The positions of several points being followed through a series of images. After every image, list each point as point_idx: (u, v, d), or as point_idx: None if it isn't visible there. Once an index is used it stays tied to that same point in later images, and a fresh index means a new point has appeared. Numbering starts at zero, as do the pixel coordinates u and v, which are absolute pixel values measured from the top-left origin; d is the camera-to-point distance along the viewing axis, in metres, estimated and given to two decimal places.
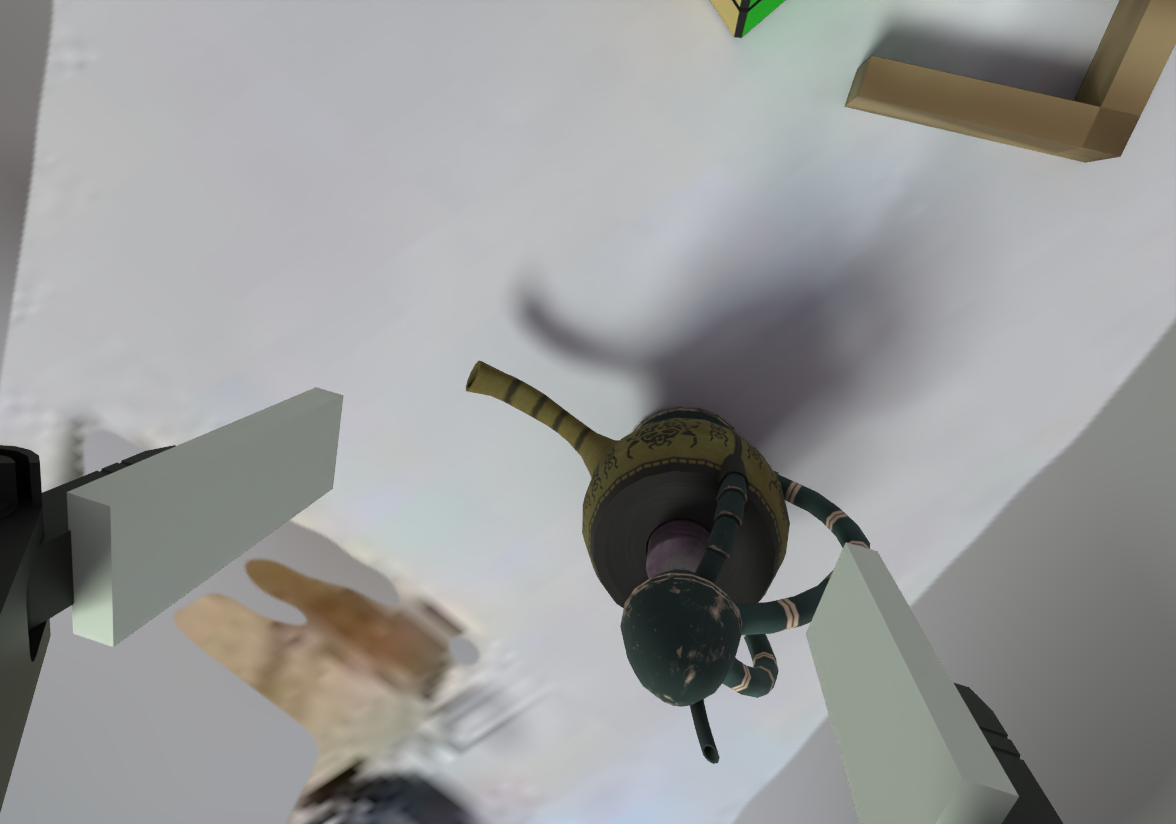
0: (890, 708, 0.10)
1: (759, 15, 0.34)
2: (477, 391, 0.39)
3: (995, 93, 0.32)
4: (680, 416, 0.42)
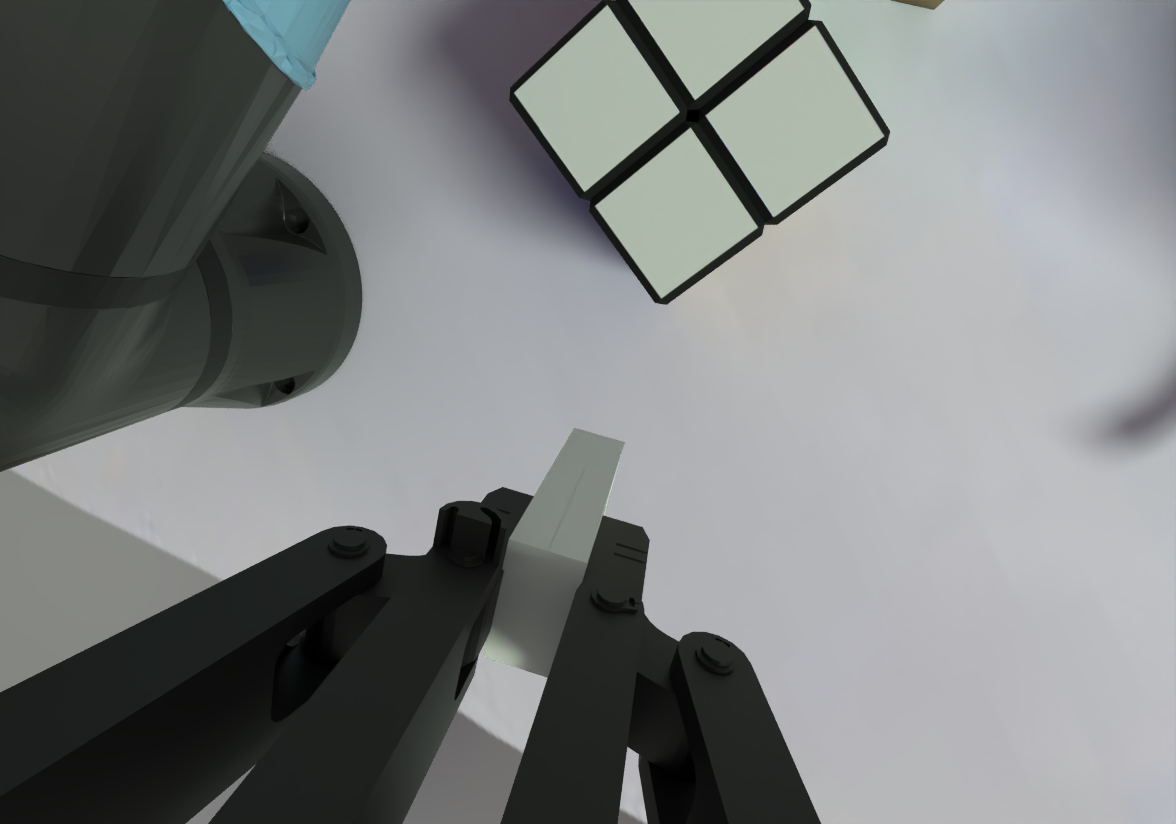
0: None
1: None
2: None
3: None
4: None
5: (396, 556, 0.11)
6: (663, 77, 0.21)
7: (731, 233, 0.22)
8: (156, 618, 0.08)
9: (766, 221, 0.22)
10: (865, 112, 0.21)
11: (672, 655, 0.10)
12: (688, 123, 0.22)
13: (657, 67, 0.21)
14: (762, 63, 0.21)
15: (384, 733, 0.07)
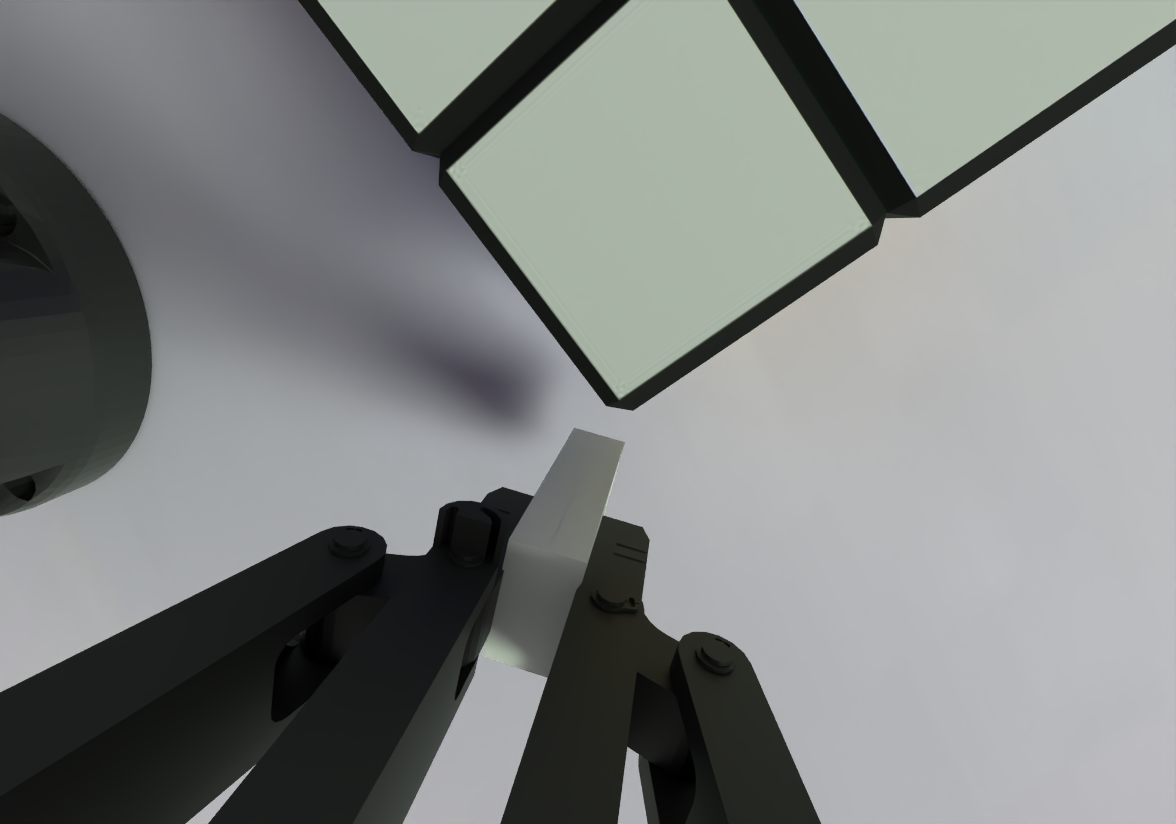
0: None
1: None
2: None
3: None
4: None
5: (396, 556, 0.11)
6: None
7: (798, 240, 0.08)
8: (156, 618, 0.08)
9: (892, 209, 0.08)
10: None
11: (672, 655, 0.10)
12: None
13: None
14: None
15: (385, 733, 0.07)
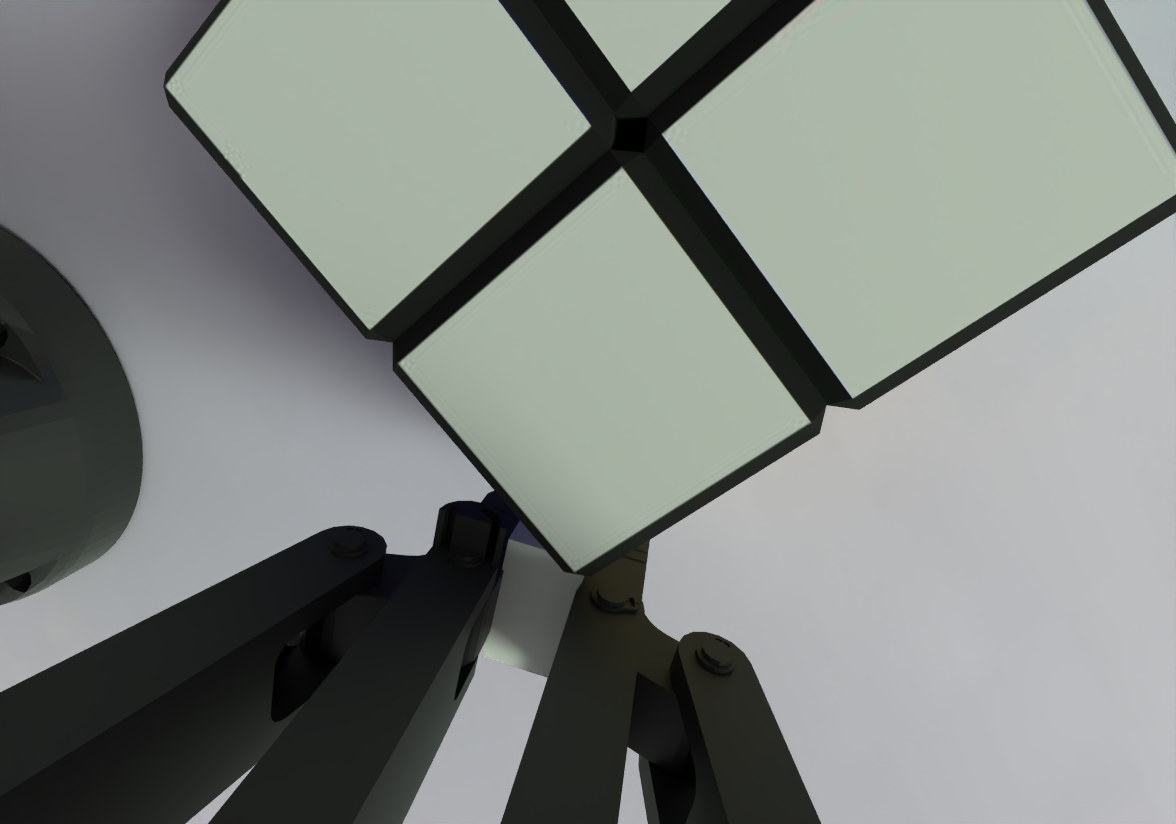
0: None
1: None
2: None
3: None
4: None
5: (396, 556, 0.11)
6: (542, 31, 0.08)
7: (741, 434, 0.09)
8: (156, 618, 0.08)
9: (831, 402, 0.09)
10: (1138, 114, 0.07)
11: (672, 655, 0.10)
12: (616, 158, 0.08)
13: (524, 3, 0.08)
14: None
15: (384, 732, 0.07)
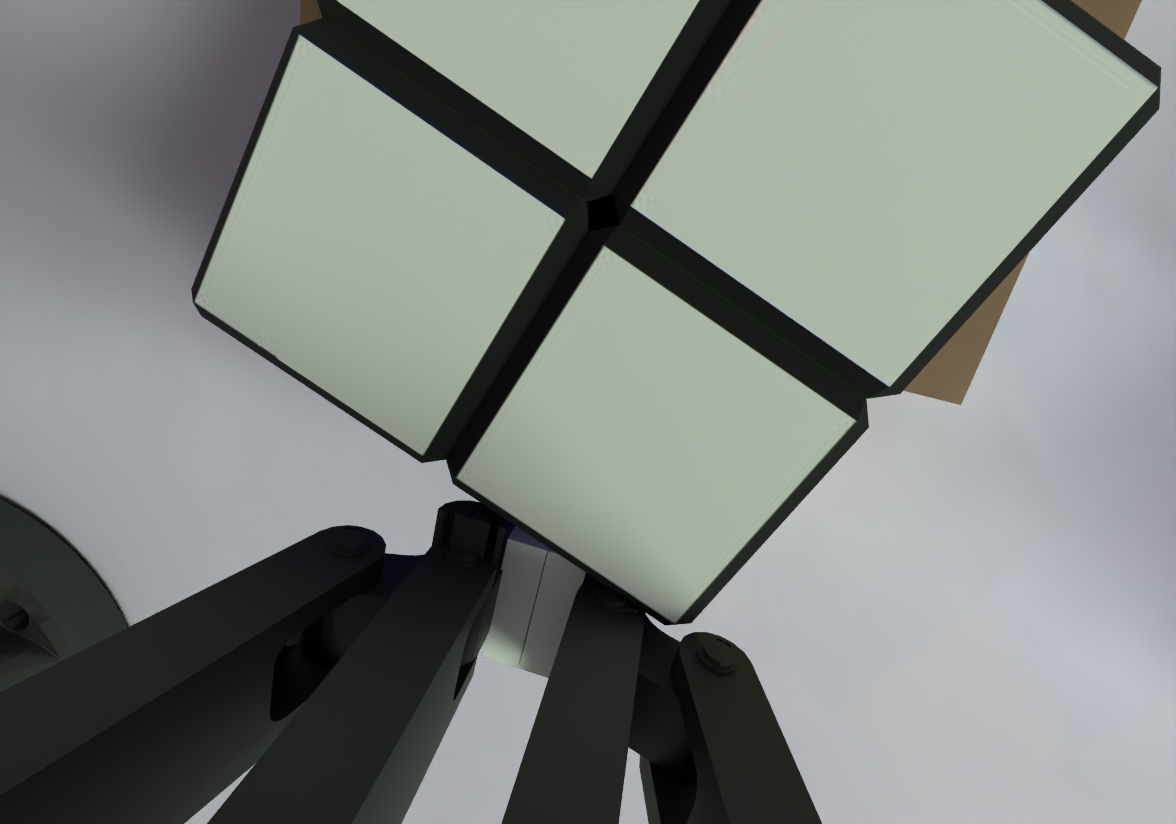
0: None
1: None
2: None
3: None
4: None
5: (395, 555, 0.11)
6: (497, 152, 0.08)
7: (791, 451, 0.09)
8: (155, 618, 0.08)
9: (870, 395, 0.09)
10: (1078, 43, 0.07)
11: (673, 655, 0.10)
12: (596, 238, 0.08)
13: (474, 134, 0.08)
14: (732, 24, 0.07)
15: (384, 732, 0.07)
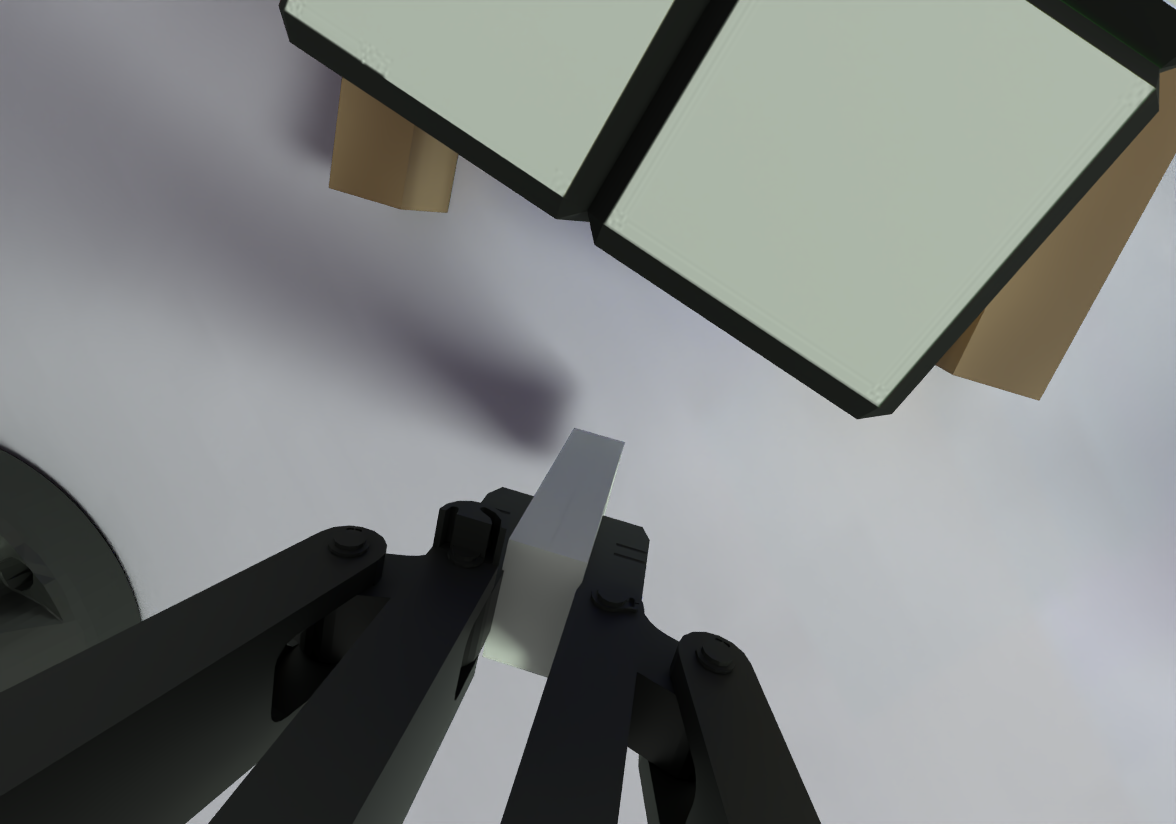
0: None
1: None
2: None
3: None
4: None
5: (396, 556, 0.11)
6: None
7: (1060, 141, 0.07)
8: (156, 618, 0.08)
9: (1167, 61, 0.07)
10: None
11: (672, 655, 0.10)
12: None
13: None
14: None
15: (385, 733, 0.07)
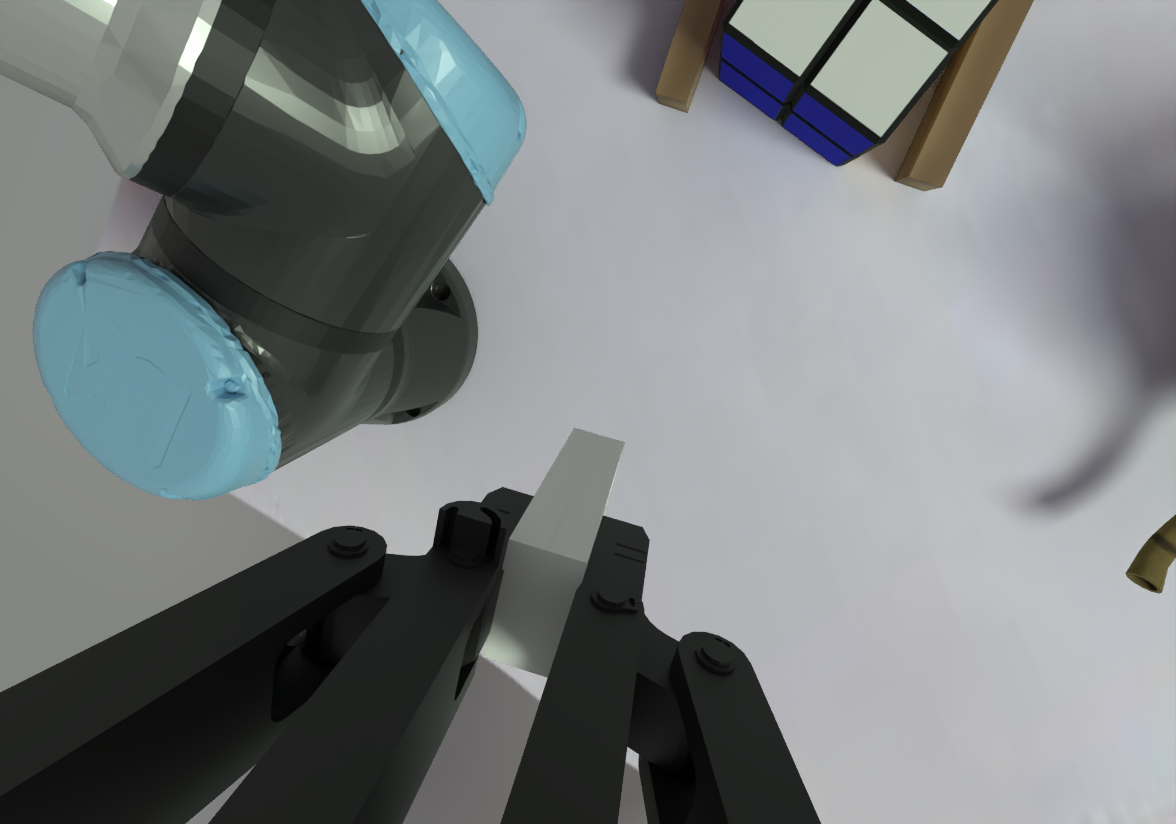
0: None
1: None
2: (1163, 582, 0.37)
3: (975, 54, 0.34)
4: None
5: (396, 556, 0.11)
6: None
7: (926, 65, 0.28)
8: (156, 618, 0.08)
9: (952, 47, 0.28)
10: None
11: (672, 655, 0.10)
12: None
13: None
14: None
15: (384, 733, 0.07)
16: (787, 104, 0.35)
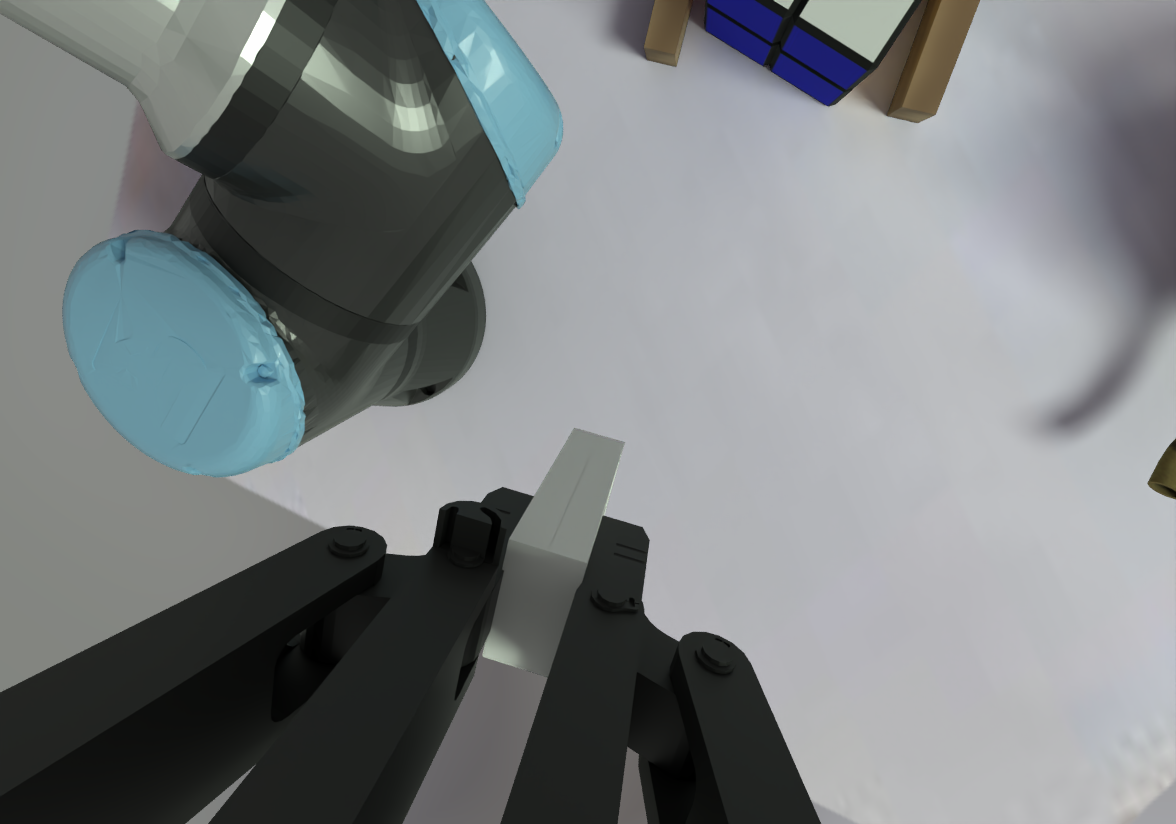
0: None
1: None
2: None
3: None
4: None
5: (396, 556, 0.11)
6: None
7: None
8: (156, 618, 0.08)
9: None
10: None
11: (672, 655, 0.10)
12: None
13: None
14: None
15: (386, 733, 0.07)
16: (776, 44, 0.35)
